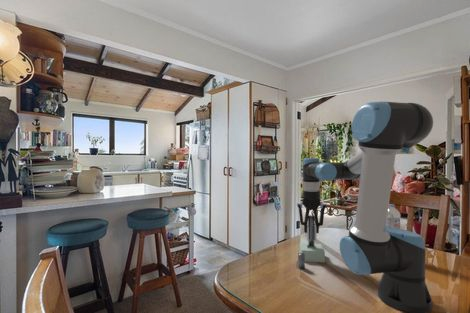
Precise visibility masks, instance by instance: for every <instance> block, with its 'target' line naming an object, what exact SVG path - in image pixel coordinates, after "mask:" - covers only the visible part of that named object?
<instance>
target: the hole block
mask: <svg viewBox="0 0 470 313" xmlns="http://www.w3.org/2000/svg"><path fill="white" fill-rule="evenodd" d="M299 253H304V254H305V263H307V262H309V263H310V262H311V263H325V262H326V260H325V258H326V254H325V253H326V251H325V250H324V248H323V245H322V243H314V246H313V247H311V246H308V242H299Z"/></svg>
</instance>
